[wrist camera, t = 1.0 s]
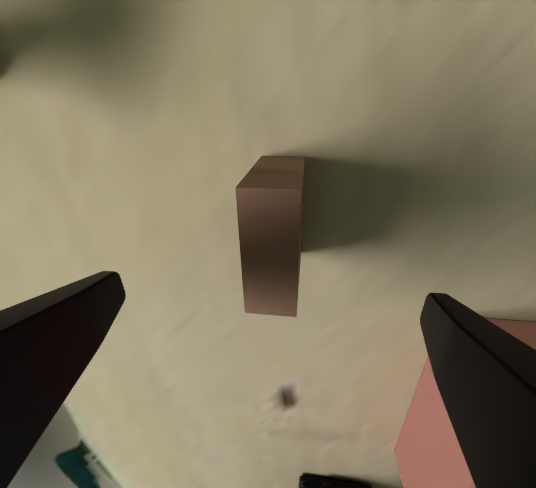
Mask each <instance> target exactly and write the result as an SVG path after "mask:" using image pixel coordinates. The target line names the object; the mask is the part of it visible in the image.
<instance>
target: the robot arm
mask: <svg viewBox="0 0 536 488" xmlns="http://www.w3.org/2000/svg"><path fill="white" fill-rule="evenodd" d="M125 296H126V295H125V290H124V287H123V284H122V281H121V278H120V275H119V274H118V273H117V272H114V271H102V272H99V273H97V274H94V275H92V276H89V277H86V278H84V279H81V280H79V281H76V282H73V283H71V284H68V285H66V286H63V287H61V288H58V289H55V290H53V291H50V292H48V293H45V294H42V295H40V296H37V297H35V298H32V299H29V300H27V301H24V302H22V303H19V304H16V305H14V306H11V307H9V308H6V309H3V310H1V311H0V488H7V487H8V485H9V484H10V482H11V481H12V479H13V478H14V476H15V475H16V473H17V471H18V470H19V469H20V467H21V466H22V464H23V463H24V461H25V460H26V458H27V456H28V455H29V454H30V452H31V451H32V449H33V447H34V446H35V444H36V443H37V441H38V440H39V438H40V437H41V435H42V434H43V432H44V431H45V429H46V428H47V426H48V425H49V423H50V422H51V420H52V418H53V417H54V416H55V414H56V413H57V411H58V409H59V408H60V406H61V405H62V403H63V402H64V400H65V399H66V397H67V396H68V394H69V393H70V391H71V390H72V388H73V387H74V385H75V384H76V382H77V381H78V379H79V378H80V376H81V375H82V373H83V372H84V370H85V368H86V367H87V365H88V364H89V362H90V361H91V359H92V358H93V356H94V355H95V353H96V352H97V350H98V349H99V347H100V345H101V344H102V342H103V340H104V338H105V337H106V335H107V333H108V331H109V329H110V327H111V325H112V323H113V322H114V320H115V318H116V316H117V314H118V312H119V310H120V308H121V306H122V305H123V303H124V301H125ZM420 324H421V329H422V333H423V336H424V340H425V344H426V348H427V352H428V356H429V360H430V364H431V368H432V371H433V375H434V378H435V381H436V384H437V387H438V390H439V392H440V395H441V398H442V400H443V403H444V405H445V408H446V411H447V413H448V416H449V419H450V421H451V424H452V427H453V429H454V432H455V434H456V437H457V440H458V442H459V445H460V448H461V450H462V453H463V456H464V458H465V461H466V463H467V466H468V469H469V471H470V474H471V477H472V479H473V482H474V485H475V487H476V488H536V350H535V349H534V348H532V347H530V346H529V345H527V344H526V343H524V342H522V341H521V340H519V339H518V338H516V337H514V336H513V335H511V334H510V333H508V332H506V331H505V330H503V329H502V328H500V327H499V326H497V325H495V324H494V323H492V322H491V321H489V320H487V319H486V318H484V317H483V316H481V315H479V314H478V313H476V312H475V311H473V310H471V309H470V308H468V307H467V306H465V305H463V304H462V303H460V302H459V301H457V300H455V299H454V298H452V297H451V296H449V295H447V294H444V293H429V294H428V295H427V297H426V300H425V303H424V306H423V309H422V313H421V316H420ZM299 488H372V487H371V486H368V485H362V484H356V483H349V482H343V481H336V480H330V479H324V478H317V477H311V476H300V479H299Z"/></svg>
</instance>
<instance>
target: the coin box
mask: <svg viewBox="0 0 536 488" xmlns="http://www.w3.org/2000/svg"><path fill="white" fill-rule="evenodd" d="M486 319H487V320H489V321H491V322H492V323H494V324H495V325H497V326H499V327H500V328H502V329H503V330H505V331H506V332H508V333H510V334H511V335H513V336H514V337H516V338H518V339H519V340H521V341H522V342H524V343H526V344H527V345H529V346H530V347H532V348H534V349H535V350H536V322H527V321H514V320H501V319H488V318H486ZM395 455H396V459H397V463H398V468H399V472H400V476H401V481H402V485H403V488H476V487H475V485H474V482H473V479H472V477H471V474H470V471H469V469H468V466H467V463H466V461H465V458H464V456H463V453H462V450H461V448H460V445H459V442H458V440H457V437H456V434H455V432H454V429H453V427H452V424H451V421H450V419H449V416H448V413H447V411H446V408H445V405H444V403H443V400H442V398H441V395H440V392H439V390H438V387H437V384H436V381H435V378H434V375H433V371H432V368H431V364H430V360H429V356H428V359H427V361H426V364H425V367H424V370H423V372H422V375H421V378H420V381H419V383H418V386H417V389H416V392H415V395H414V397H413V400H412V403H411V406H410V408H409V411H408V414H407V417H406V420H405V422H404V425H403V428H402V431H401V433H400V436H399V439H398V442H397V444H396V447H395Z"/></svg>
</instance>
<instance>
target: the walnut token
mask: <svg viewBox="0 0 536 488" xmlns="http://www.w3.org/2000/svg"><path fill="white" fill-rule="evenodd" d="M304 168H305V157H282V156H261V157H260V159H259V160H258V161H257V162H256V163H255V165H254V166H253V167H252V168H251V170H250V171H249V172H248V173H247V174H246V176H245V177H244V178H243V179H242V181H241V182H240V183H239V184H238V185H237V187H236V200H237V213H238V226H239V240H240V253H241V267H242V280H243V294H244V307H245V313H255V314H267V315H279V316H291V317H296V314H297V300H298V286H299V272H300V258H301V239H302V215H303V192H304Z"/></svg>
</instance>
